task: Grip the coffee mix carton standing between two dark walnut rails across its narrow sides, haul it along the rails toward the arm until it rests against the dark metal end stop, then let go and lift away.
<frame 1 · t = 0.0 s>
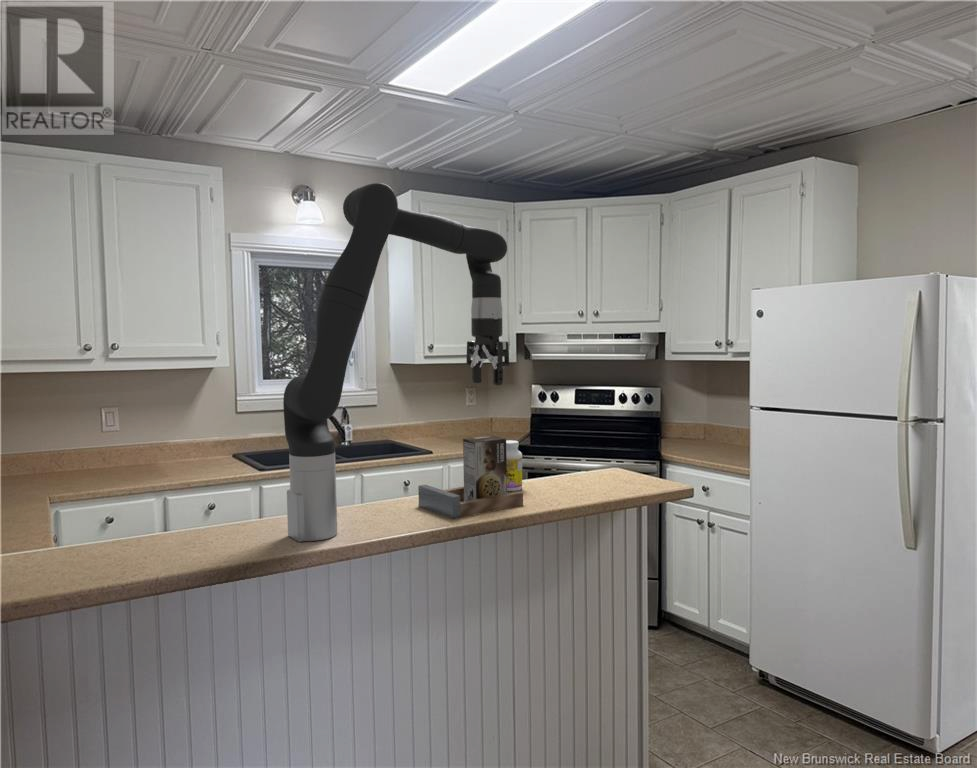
hand: (487, 383, 167), 29 cm above the counter, tool pointing down, fingers open, 8 cm apart
end stop: (438, 511, 160), on the counter
guide rails: (474, 504, 166), on the counter
supplement bottle: (509, 490, 183), on the counter
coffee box: (485, 503, 168), on the counter
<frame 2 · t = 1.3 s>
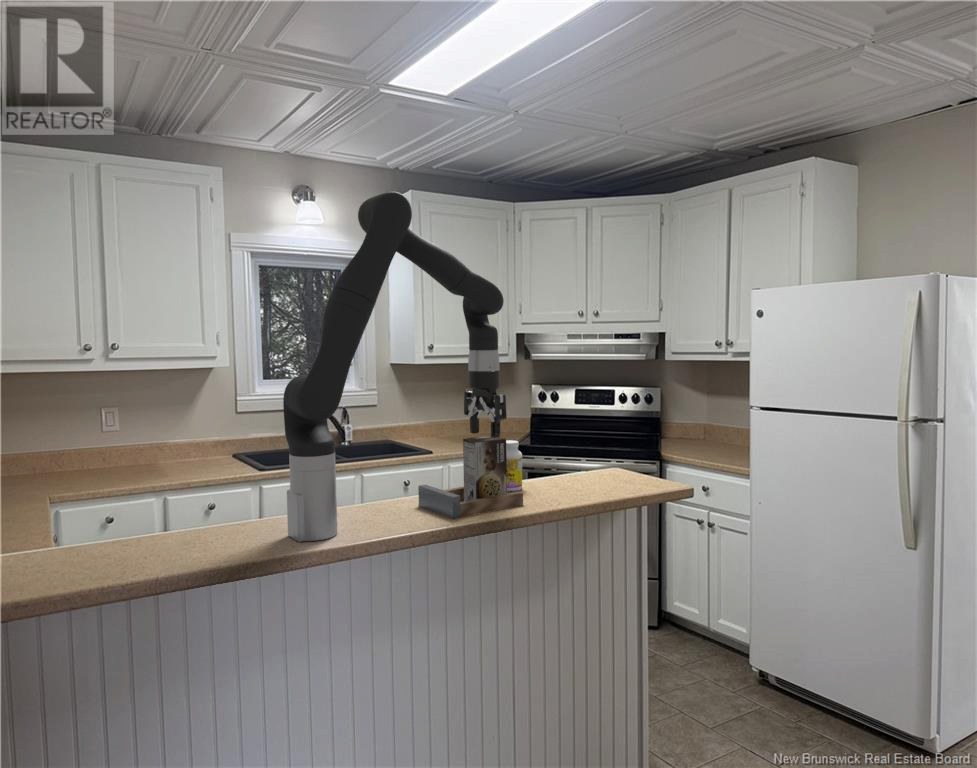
hand: (484, 435, 167), 17 cm above the counter, tool pointing down, fingers open, 8 cm apart
nothing on the counter moved.
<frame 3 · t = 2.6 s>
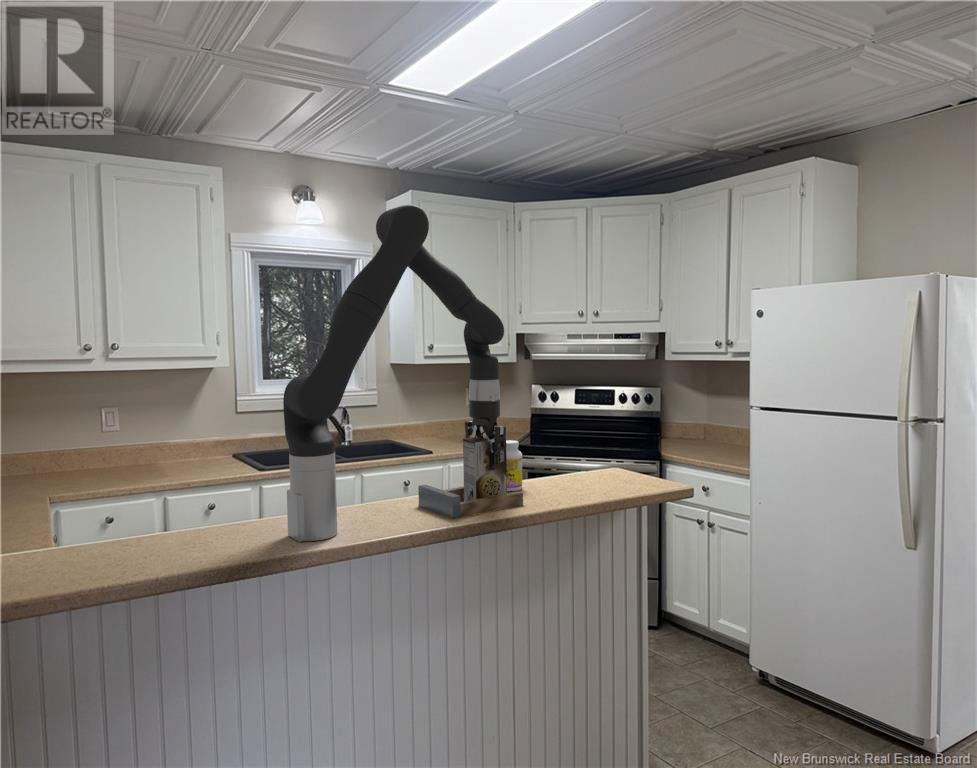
hand: (485, 465, 168), 9 cm above the counter, tool pointing down, fingers closed on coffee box, 6 cm apart
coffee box: (485, 503, 168), on the counter, touching gripper
everything else where it was.
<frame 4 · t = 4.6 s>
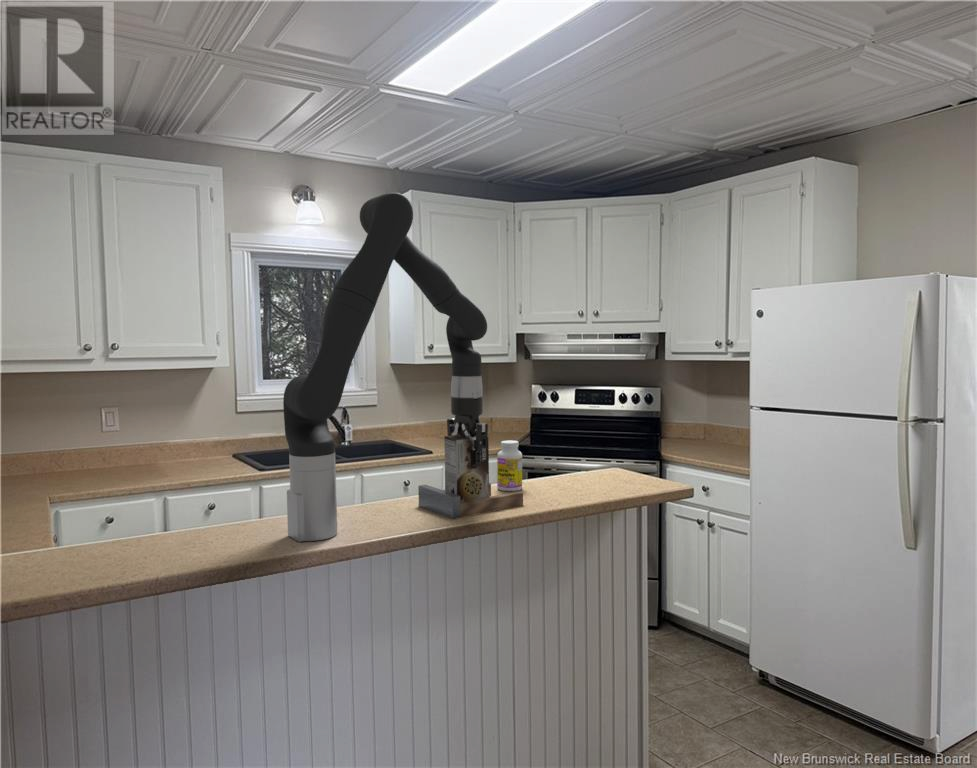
hand: (466, 463, 164), 10 cm above the counter, tool pointing down, fingers closed on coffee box, 6 cm apart
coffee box: (466, 502, 165), point 1 cm above the counter, touching gripper
everything else where it was.
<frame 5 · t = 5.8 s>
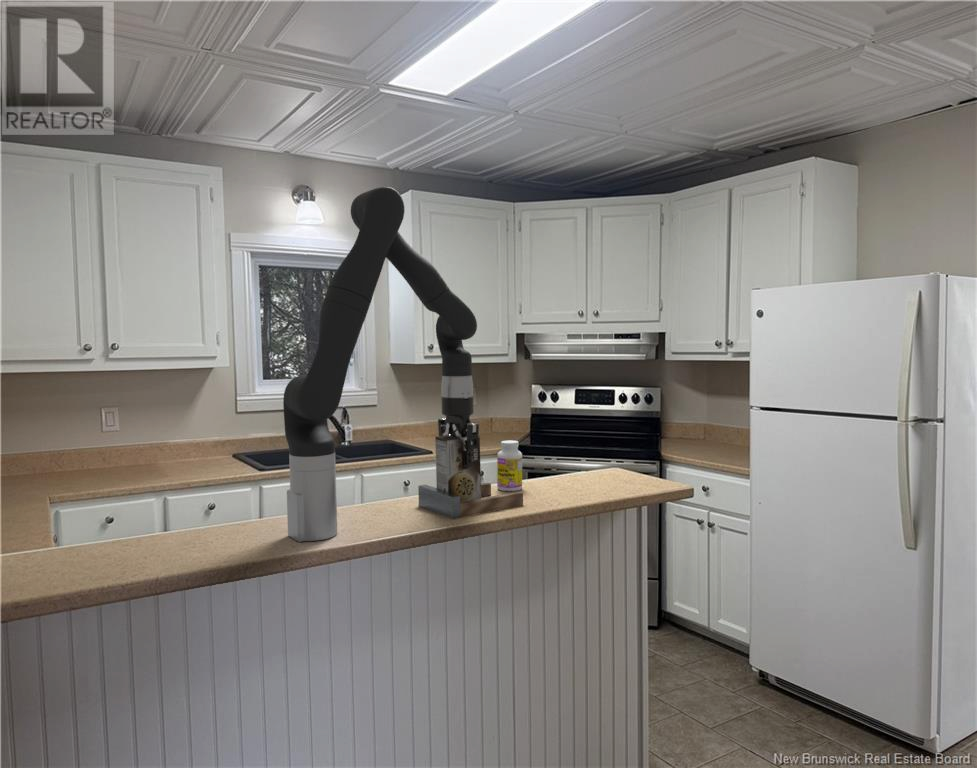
hand: (458, 464, 163), 11 cm above the counter, tool pointing down, fingers closed on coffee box, 6 cm apart
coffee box: (458, 503, 164), point 1 cm above the counter, touching gripper
everything else where it was.
when the fingers open (9 cm above the counter, at t = 6.6 s): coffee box stays where it is, on the counter.
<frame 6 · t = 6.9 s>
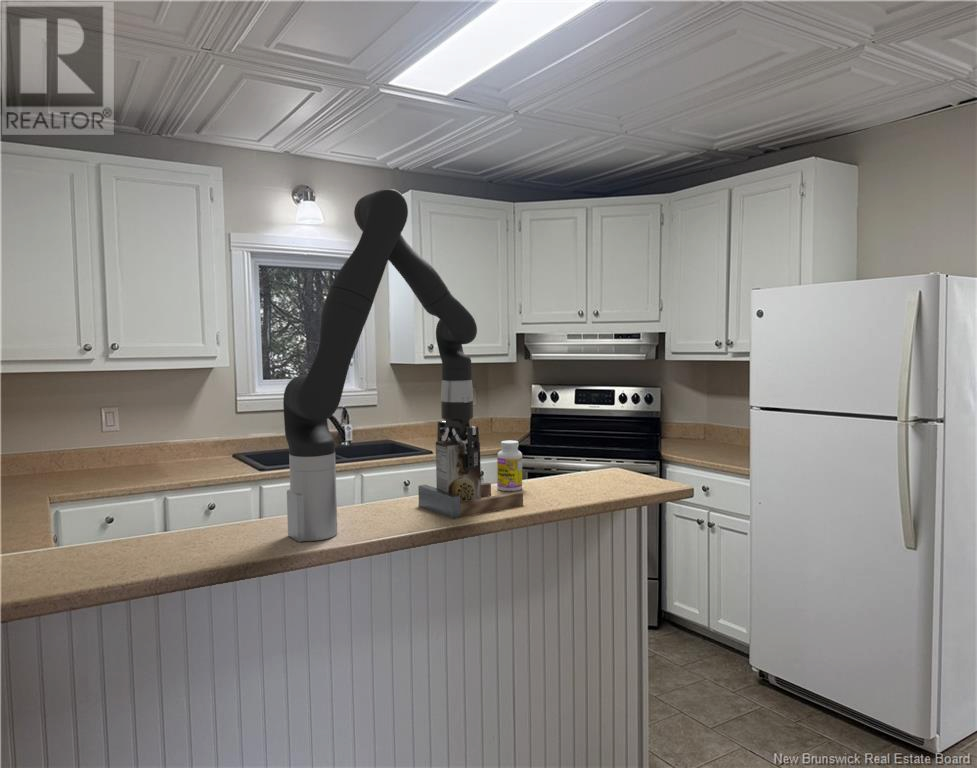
hand: (457, 467, 163), 10 cm above the counter, tool pointing down, fingers open, 8 cm apart
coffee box: (458, 508, 164), on the counter
everything else where it was.
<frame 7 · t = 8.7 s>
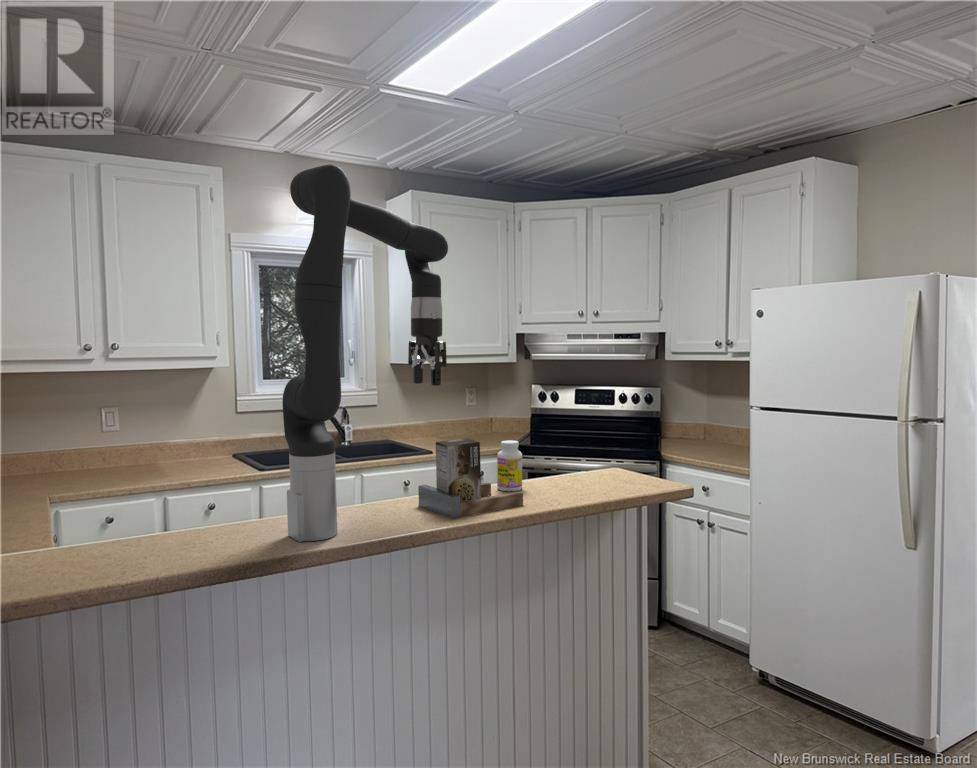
hand: (426, 384, 165), 29 cm above the counter, tool pointing down, fingers open, 8 cm apart
nothing on the counter moved.
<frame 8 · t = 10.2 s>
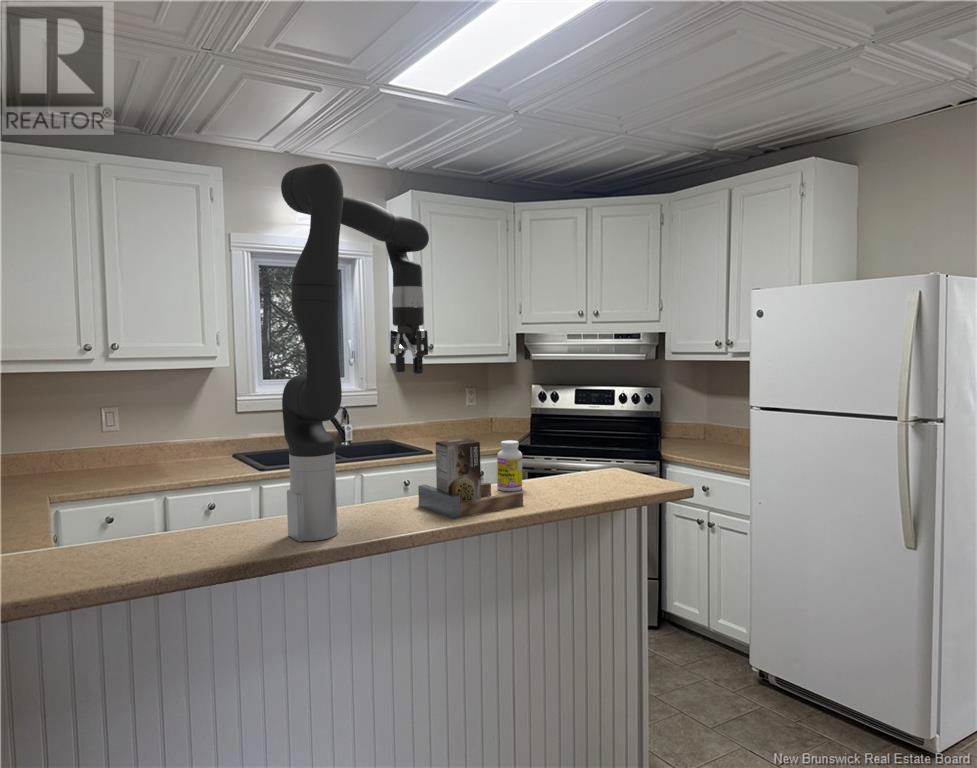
hand: (409, 372, 167), 32 cm above the counter, tool pointing down, fingers open, 8 cm apart
nothing on the counter moved.
at the end: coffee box 0.0 cm from the target spot, on the counter; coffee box tilted 0°; the gripper is holding nothing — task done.
